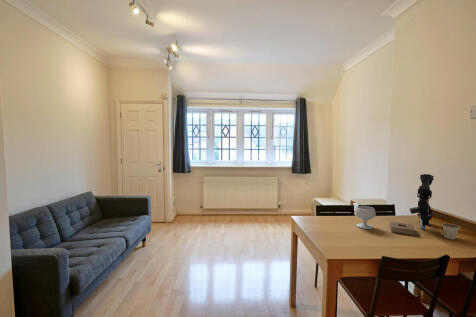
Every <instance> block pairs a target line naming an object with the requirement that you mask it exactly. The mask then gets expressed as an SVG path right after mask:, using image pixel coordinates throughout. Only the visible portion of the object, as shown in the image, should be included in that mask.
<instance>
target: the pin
mask: <svg viewBox="0 0 476 317" xmlns="http://www.w3.org/2000/svg"><path fill="white" fill-rule="evenodd" d="M419 221H420V223H419V230H421V231H426V226H427V225H425V227H423V226H422V220H421V219H420V218H419Z"/></svg>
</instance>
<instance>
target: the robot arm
mask: <svg viewBox="0 0 476 317" xmlns="http://www.w3.org/2000/svg"><path fill="white" fill-rule="evenodd" d="M434 177H435V176H434V175H432V174H430V173H422V174H420V176H419V180H420V181H421V182H420V183H421V185H419V187H418V188H417V194H416V195H417V198H418V201H417V206H415V207H411V208H409V212H410V214H411V215H414V214H417V216H418V218H419V220H418V223H419V224H420V219H421V220H422V226H423V227H425V225H426V226H431V223H430V221H432V218H433V216H434V212H433V210H432V208H431V207H432V206H431V205H430V200H431V198H432V196H433V191H432V190H431V187H430V186H431V185H432V184H433V181H434V180H435V179H434Z"/></svg>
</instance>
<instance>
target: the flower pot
mask: <svg viewBox="0 0 476 317" xmlns="http://www.w3.org/2000/svg"><path fill="white" fill-rule="evenodd" d="M441 227H442V231H443V237H444V238H446V239H448V240H456V239H457V237H458V236H457V235H458V232H459V230H460V228H461V226H459V225H457V224H454V223H449V222H447V223H445V222H444V223H443V222H442V223H441Z"/></svg>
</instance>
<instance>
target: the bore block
mask: <svg viewBox="0 0 476 317" xmlns="http://www.w3.org/2000/svg"><path fill="white" fill-rule="evenodd" d="M389 228H390V232H391V233H392V234H394V233H395V234H398V233H399V235H407V236H414V237H416V231H417V230H416V229H415V227H414V225H413V224H412V223H405V222H397V221H392V220H391V221H389Z"/></svg>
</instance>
